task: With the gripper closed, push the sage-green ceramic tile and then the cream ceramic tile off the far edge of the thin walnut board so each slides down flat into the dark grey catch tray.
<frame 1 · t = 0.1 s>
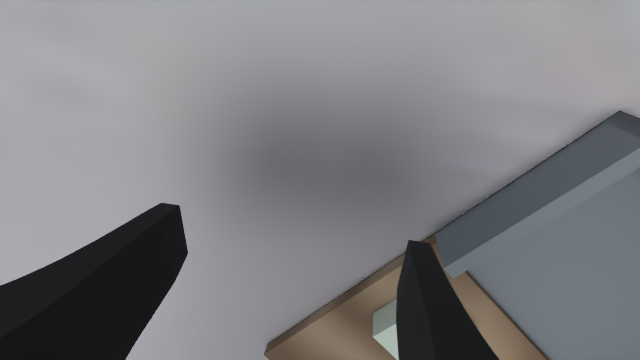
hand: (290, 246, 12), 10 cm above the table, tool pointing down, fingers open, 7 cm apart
catch tray: (608, 286, 22), on the table
sage tile: (424, 319, 24), point 1 cm above the table, touching walnut board
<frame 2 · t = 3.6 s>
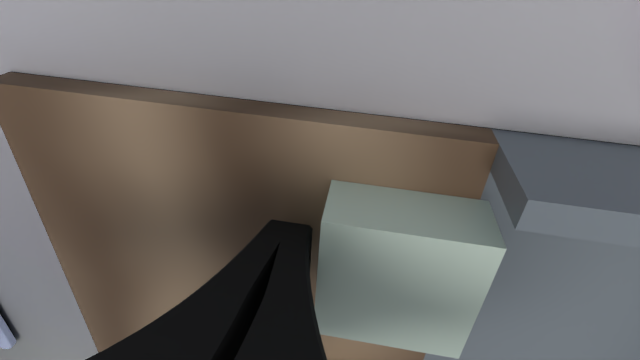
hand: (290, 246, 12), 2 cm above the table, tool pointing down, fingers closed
catch tray: (566, 354, 15), on the table
walnut board: (247, 298, 16), on the table
sage tile: (395, 247, 12), point 1 cm above the table
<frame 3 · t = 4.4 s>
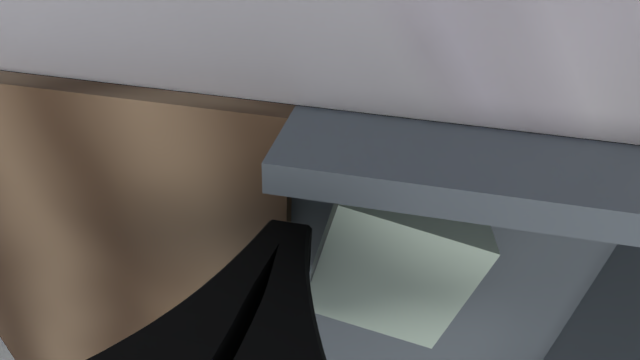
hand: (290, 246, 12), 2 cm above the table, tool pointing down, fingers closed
catch tray: (422, 328, 16), on the table
walnut board: (125, 277, 17), on the table
sage tile: (390, 240, 13), resting on catch tray, touching gripper
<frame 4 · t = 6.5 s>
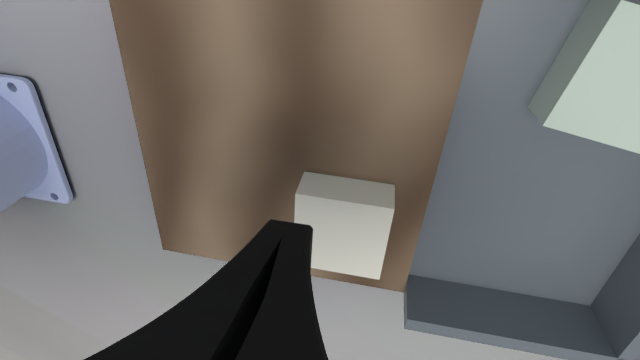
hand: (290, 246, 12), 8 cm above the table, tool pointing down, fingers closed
catch tray: (559, 165, 18), on the table
cream tile: (344, 214, 20), point 1 cm above the table, touching walnut board
walnut board: (285, 127, 19), on the table
sage tile: (614, 70, 15), resting on catch tray
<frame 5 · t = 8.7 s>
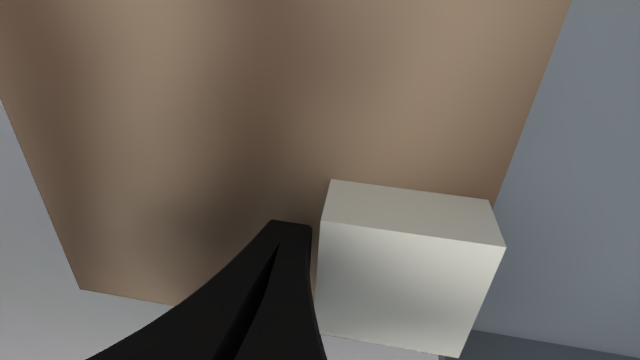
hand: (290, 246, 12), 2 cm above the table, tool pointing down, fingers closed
cream tile: (395, 247, 12), point 1 cm above the table, touching walnut board
walnut board: (247, 98, 11), on the table
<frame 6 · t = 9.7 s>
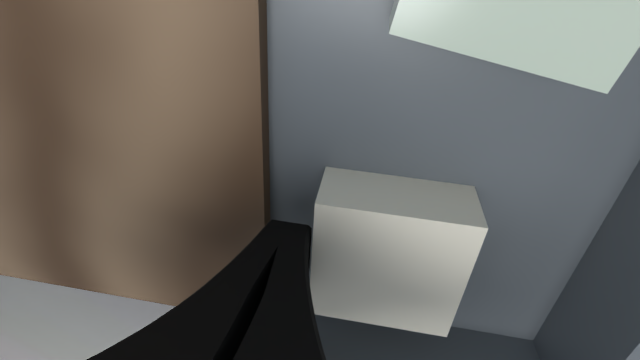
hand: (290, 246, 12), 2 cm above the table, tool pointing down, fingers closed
catch tray: (460, 123, 11), on the table
cream tile: (387, 232, 13), resting on catch tray, touching gripper
walnut board: (42, 75, 12), on the table
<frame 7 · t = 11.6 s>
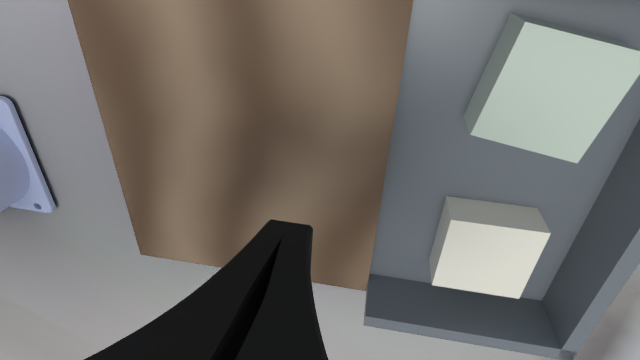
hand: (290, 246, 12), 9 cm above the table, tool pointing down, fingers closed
catch tray: (499, 169, 19), on the table
cream tile: (479, 235, 21), resting on catch tray
walnut board: (246, 138, 20), on the table
sage tile: (537, 81, 16), resting on catch tray
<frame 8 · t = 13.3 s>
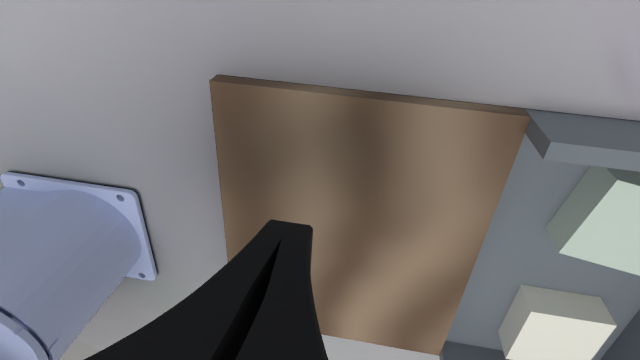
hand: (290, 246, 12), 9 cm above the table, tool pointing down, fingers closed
catch tray: (569, 265, 22), on the table
cream tile: (546, 315, 24), resting on catch tray
walnut board: (346, 232, 23), on the table
sage tile: (612, 206, 19), resting on catch tray
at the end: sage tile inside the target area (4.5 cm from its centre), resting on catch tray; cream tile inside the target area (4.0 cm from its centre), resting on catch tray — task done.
